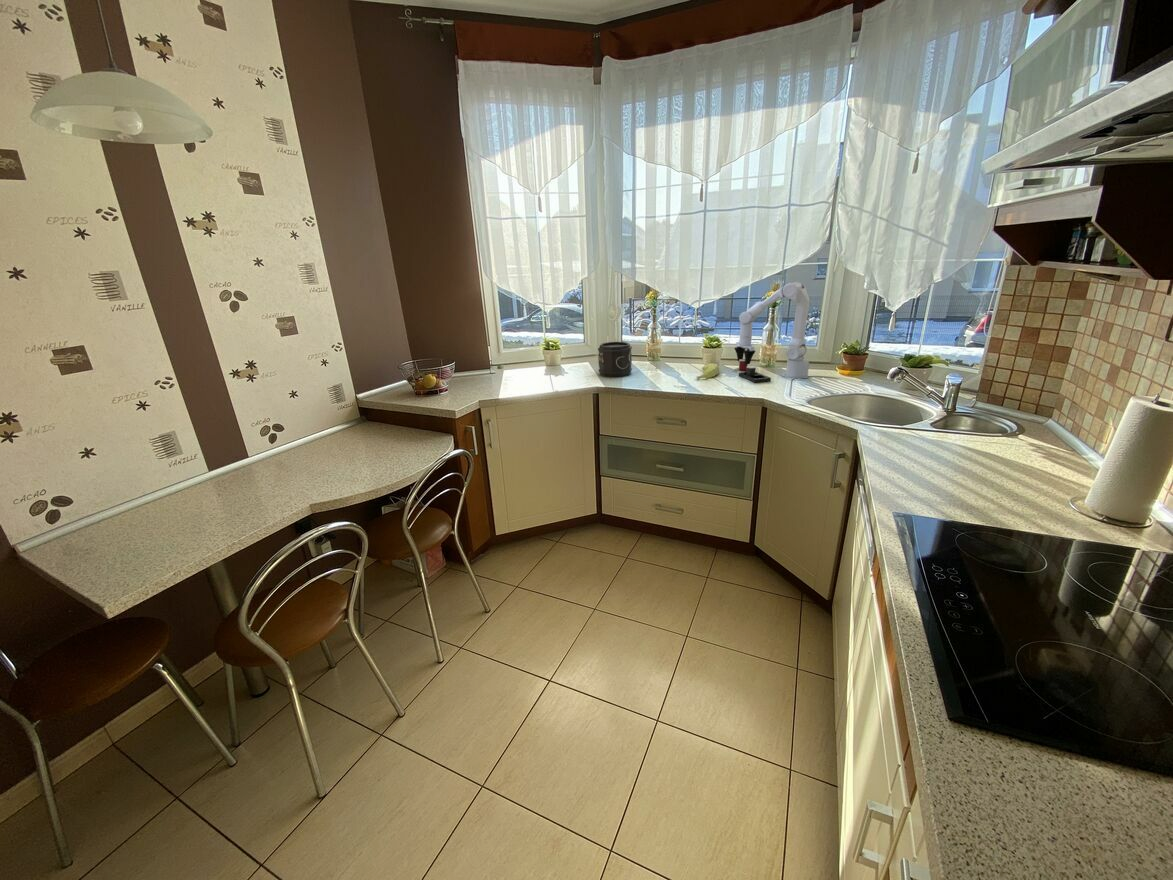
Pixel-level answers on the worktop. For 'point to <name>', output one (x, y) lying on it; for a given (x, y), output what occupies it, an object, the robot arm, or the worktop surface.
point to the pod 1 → (742, 365)
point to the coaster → (740, 370)
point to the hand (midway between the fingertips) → (743, 362)
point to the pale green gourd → (709, 371)
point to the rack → (755, 377)
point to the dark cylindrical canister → (615, 359)
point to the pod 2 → (751, 370)
